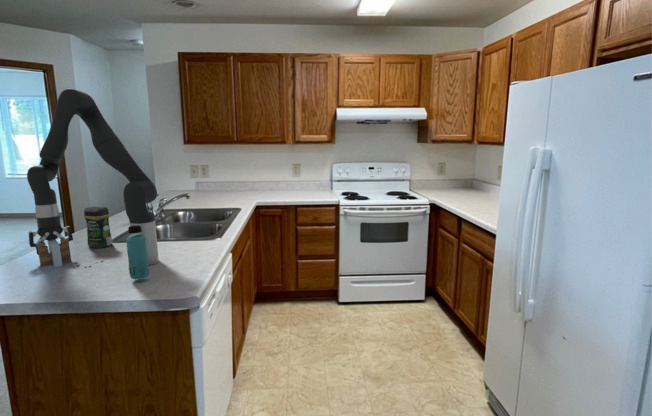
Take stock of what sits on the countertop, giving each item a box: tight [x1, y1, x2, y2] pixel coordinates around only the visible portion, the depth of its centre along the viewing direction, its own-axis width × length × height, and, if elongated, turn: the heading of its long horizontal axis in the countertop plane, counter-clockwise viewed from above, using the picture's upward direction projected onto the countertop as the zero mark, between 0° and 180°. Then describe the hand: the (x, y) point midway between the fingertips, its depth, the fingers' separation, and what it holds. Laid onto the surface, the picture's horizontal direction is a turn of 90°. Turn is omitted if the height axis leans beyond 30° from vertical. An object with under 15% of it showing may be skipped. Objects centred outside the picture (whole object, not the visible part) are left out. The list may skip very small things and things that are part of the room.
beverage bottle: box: [125, 225, 150, 280], centre depth 132 cm, size 6×7×20 cm
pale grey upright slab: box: [46, 239, 63, 268], centre depth 150 cm, size 2×12×9 cm, turn 43°
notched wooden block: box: [36, 238, 72, 267], centre depth 150 cm, size 2×10×9 cm, turn 133°
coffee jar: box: [83, 206, 113, 249], centre depth 172 cm, size 10×8×19 cm
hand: (53, 253), depth 153 cm, fingers open, 8 cm apart
